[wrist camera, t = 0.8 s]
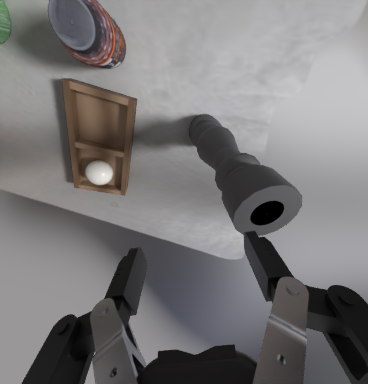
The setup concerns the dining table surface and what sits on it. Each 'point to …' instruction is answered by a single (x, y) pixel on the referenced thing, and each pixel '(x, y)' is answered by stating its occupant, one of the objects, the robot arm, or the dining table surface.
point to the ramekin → (4, 22)
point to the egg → (99, 172)
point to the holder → (99, 133)
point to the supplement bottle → (87, 32)
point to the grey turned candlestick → (244, 181)
